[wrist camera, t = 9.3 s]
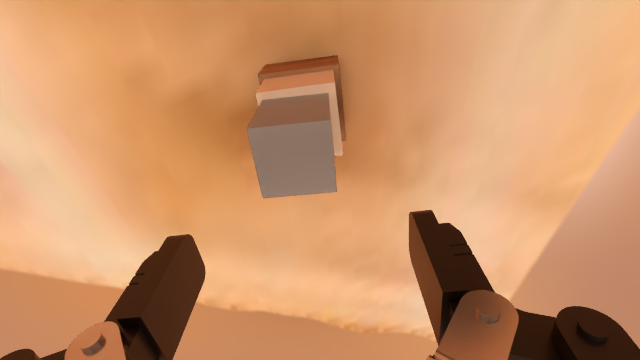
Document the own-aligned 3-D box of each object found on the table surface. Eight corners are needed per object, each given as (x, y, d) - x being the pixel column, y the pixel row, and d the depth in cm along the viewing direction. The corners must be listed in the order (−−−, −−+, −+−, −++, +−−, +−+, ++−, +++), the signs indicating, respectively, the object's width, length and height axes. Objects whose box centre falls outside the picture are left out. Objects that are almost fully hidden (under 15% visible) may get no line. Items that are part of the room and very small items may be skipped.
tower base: (265, 64, 32) (258, 74, 28) (337, 55, 32) (339, 64, 28) (279, 131, 36) (273, 148, 32) (343, 123, 35) (346, 140, 31)
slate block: (262, 99, 25) (246, 128, 20) (328, 92, 25) (329, 120, 20) (274, 159, 27) (262, 198, 22) (334, 153, 27) (336, 191, 22)
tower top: (264, 79, 29) (255, 93, 25) (333, 69, 28) (334, 82, 24) (278, 142, 32) (271, 164, 28) (340, 134, 31) (343, 155, 27)
